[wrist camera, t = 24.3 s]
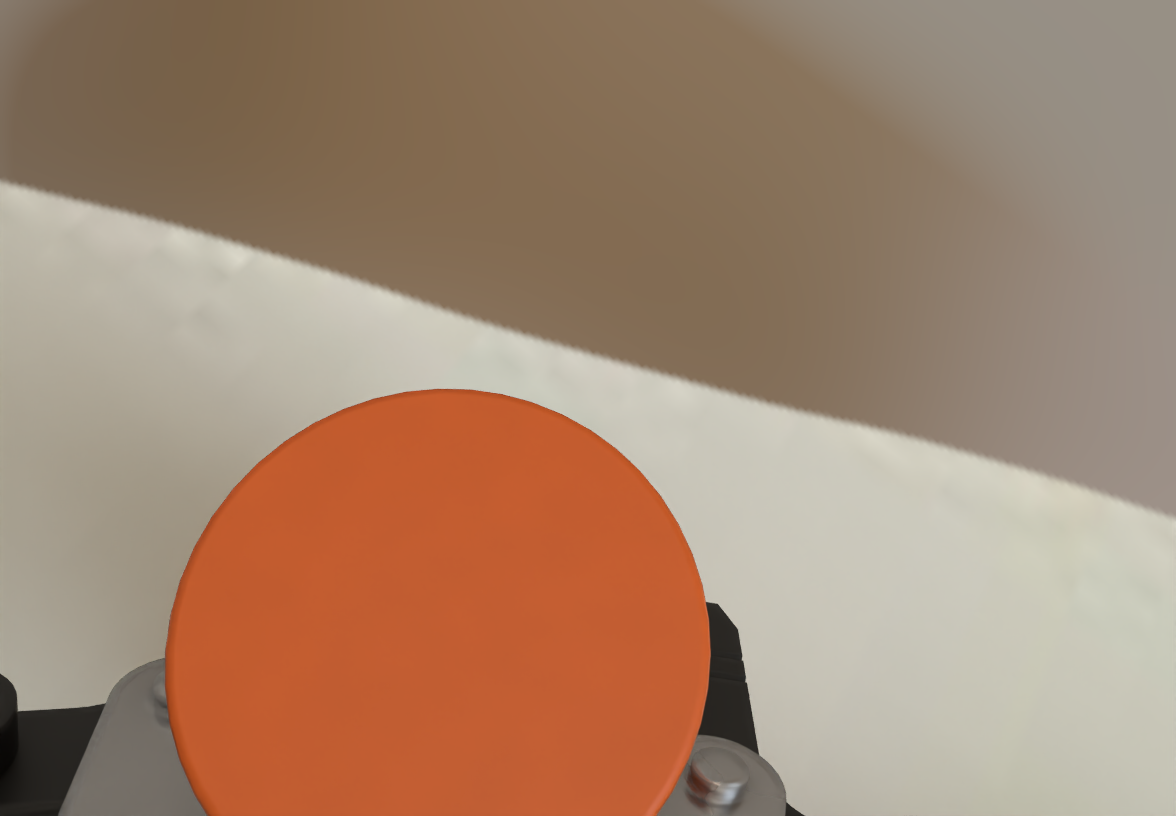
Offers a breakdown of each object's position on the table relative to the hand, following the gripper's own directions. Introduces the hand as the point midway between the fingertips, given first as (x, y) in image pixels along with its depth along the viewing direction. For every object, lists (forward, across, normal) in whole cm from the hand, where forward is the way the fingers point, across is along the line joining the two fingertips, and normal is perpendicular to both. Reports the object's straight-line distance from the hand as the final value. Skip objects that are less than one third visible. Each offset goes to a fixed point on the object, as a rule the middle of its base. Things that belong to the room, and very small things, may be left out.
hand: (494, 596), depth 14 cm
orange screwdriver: (+4, 0, +7) cm, 8 cm away
